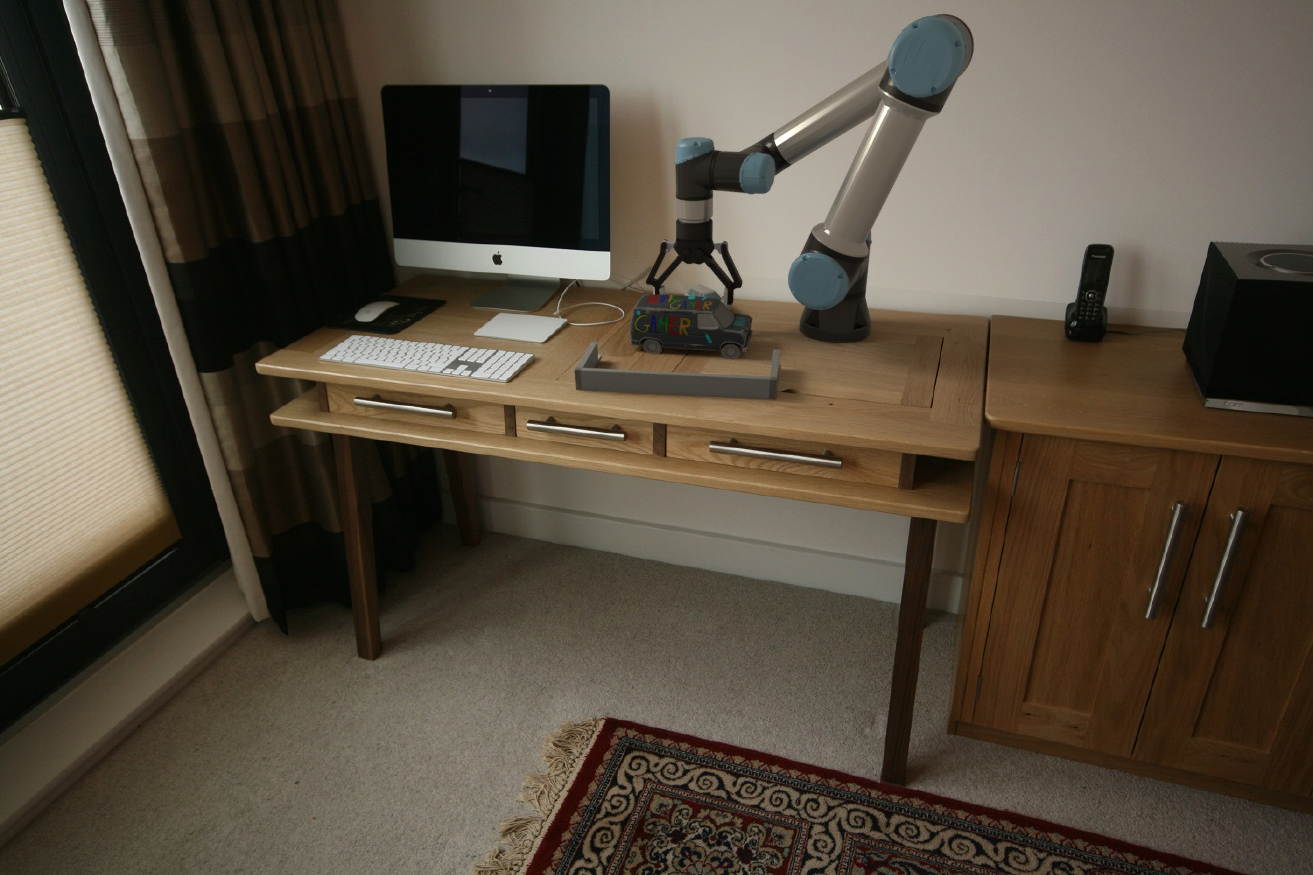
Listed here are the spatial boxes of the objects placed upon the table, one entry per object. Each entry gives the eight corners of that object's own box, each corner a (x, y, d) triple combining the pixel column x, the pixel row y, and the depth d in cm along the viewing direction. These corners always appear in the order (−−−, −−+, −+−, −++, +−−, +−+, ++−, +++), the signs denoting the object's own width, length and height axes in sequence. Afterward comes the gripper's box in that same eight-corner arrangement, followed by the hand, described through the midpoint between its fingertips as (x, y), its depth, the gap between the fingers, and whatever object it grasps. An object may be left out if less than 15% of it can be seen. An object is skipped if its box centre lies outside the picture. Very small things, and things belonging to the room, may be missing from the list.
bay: (778, 364, 172) (779, 345, 170) (775, 399, 158) (776, 379, 156) (595, 355, 178) (594, 337, 176) (575, 389, 163) (574, 370, 161)
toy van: (747, 361, 174) (748, 313, 170) (627, 352, 179) (626, 306, 175) (753, 341, 183) (755, 296, 179) (640, 334, 188) (638, 290, 184)
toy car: (713, 321, 195) (714, 300, 192) (681, 306, 204) (681, 286, 202) (734, 316, 197) (734, 295, 195) (701, 301, 207) (701, 281, 205)
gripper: (757, 215, 177) (753, 313, 187) (637, 212, 181) (640, 309, 191) (754, 224, 171) (750, 326, 181) (630, 221, 175) (633, 320, 185)
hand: (693, 317), depth 186 cm, fingers open, 13 cm apart
